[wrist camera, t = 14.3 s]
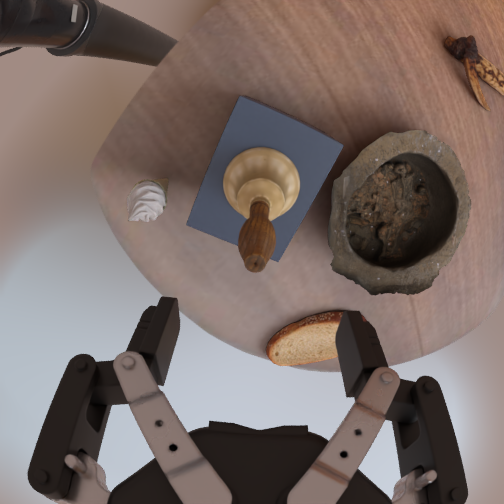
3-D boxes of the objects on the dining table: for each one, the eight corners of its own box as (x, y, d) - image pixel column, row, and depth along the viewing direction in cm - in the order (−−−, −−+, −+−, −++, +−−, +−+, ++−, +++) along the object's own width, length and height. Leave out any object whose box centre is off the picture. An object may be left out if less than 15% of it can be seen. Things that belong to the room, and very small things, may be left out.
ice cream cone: (183, 195, 44) (151, 242, 31) (152, 195, 44) (111, 240, 31) (182, 163, 41) (146, 199, 28) (150, 164, 41) (104, 199, 28)
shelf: (203, 194, 44) (185, 225, 34) (245, 95, 36) (239, 95, 27) (275, 224, 46) (278, 262, 36) (324, 132, 38) (344, 145, 29)
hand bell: (235, 226, 34) (216, 325, 20) (213, 158, 30) (170, 219, 16) (306, 210, 33) (335, 303, 19) (290, 138, 29) (316, 183, 15)
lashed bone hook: (432, 71, 32) (502, 126, 34) (447, 71, 28) (518, 132, 30) (445, 26, 27) (514, 85, 29) (460, 23, 23) (531, 89, 25)
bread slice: (260, 355, 61) (260, 368, 58) (295, 294, 53) (297, 308, 49) (331, 370, 64) (334, 382, 61) (374, 317, 55) (379, 329, 52)
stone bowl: (313, 272, 50) (321, 304, 41) (318, 119, 39) (331, 120, 31) (436, 269, 48) (459, 296, 40) (457, 136, 37) (490, 144, 29)
